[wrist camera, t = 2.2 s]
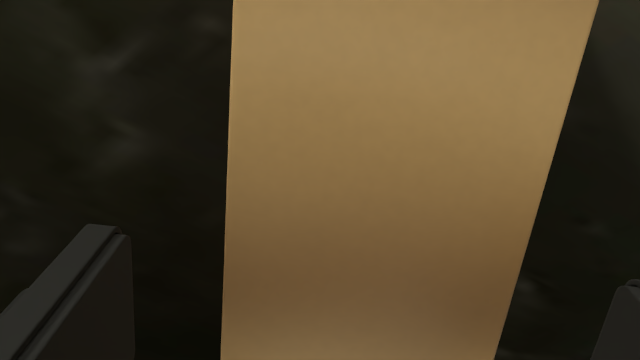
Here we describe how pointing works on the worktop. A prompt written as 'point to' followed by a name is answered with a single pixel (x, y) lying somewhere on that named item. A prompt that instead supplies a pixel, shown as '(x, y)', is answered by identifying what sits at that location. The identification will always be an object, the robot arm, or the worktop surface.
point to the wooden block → (388, 171)
